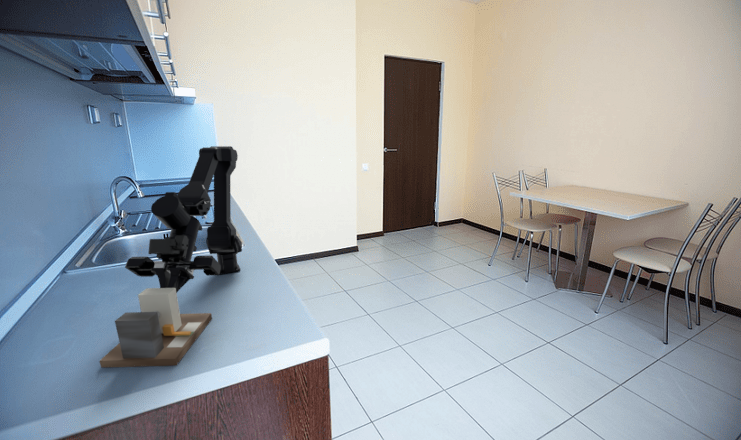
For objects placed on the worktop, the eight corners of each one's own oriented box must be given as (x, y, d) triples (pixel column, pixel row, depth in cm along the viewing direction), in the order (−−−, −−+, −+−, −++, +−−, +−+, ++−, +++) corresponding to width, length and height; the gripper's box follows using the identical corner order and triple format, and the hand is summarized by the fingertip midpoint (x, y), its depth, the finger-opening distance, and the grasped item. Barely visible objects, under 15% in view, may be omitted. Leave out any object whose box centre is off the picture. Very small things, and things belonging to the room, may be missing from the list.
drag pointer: (166, 333, 71) (164, 324, 71) (191, 332, 72) (190, 323, 71) (163, 336, 70) (162, 327, 70) (189, 335, 71) (187, 326, 70)
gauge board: (151, 320, 80) (144, 283, 78) (212, 318, 81) (207, 282, 78) (101, 367, 64) (90, 323, 62) (176, 365, 65) (168, 321, 62)
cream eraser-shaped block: (153, 325, 74) (146, 288, 72) (181, 325, 74) (175, 287, 72) (133, 345, 67) (124, 304, 65) (164, 344, 68) (156, 304, 65)
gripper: (122, 222, 74) (95, 291, 66) (209, 221, 74) (192, 290, 67) (149, 245, 83) (128, 308, 75) (226, 243, 84) (213, 306, 76)
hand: (164, 303), depth 73 cm, fingers closed, pressing on cream eraser-shaped block
